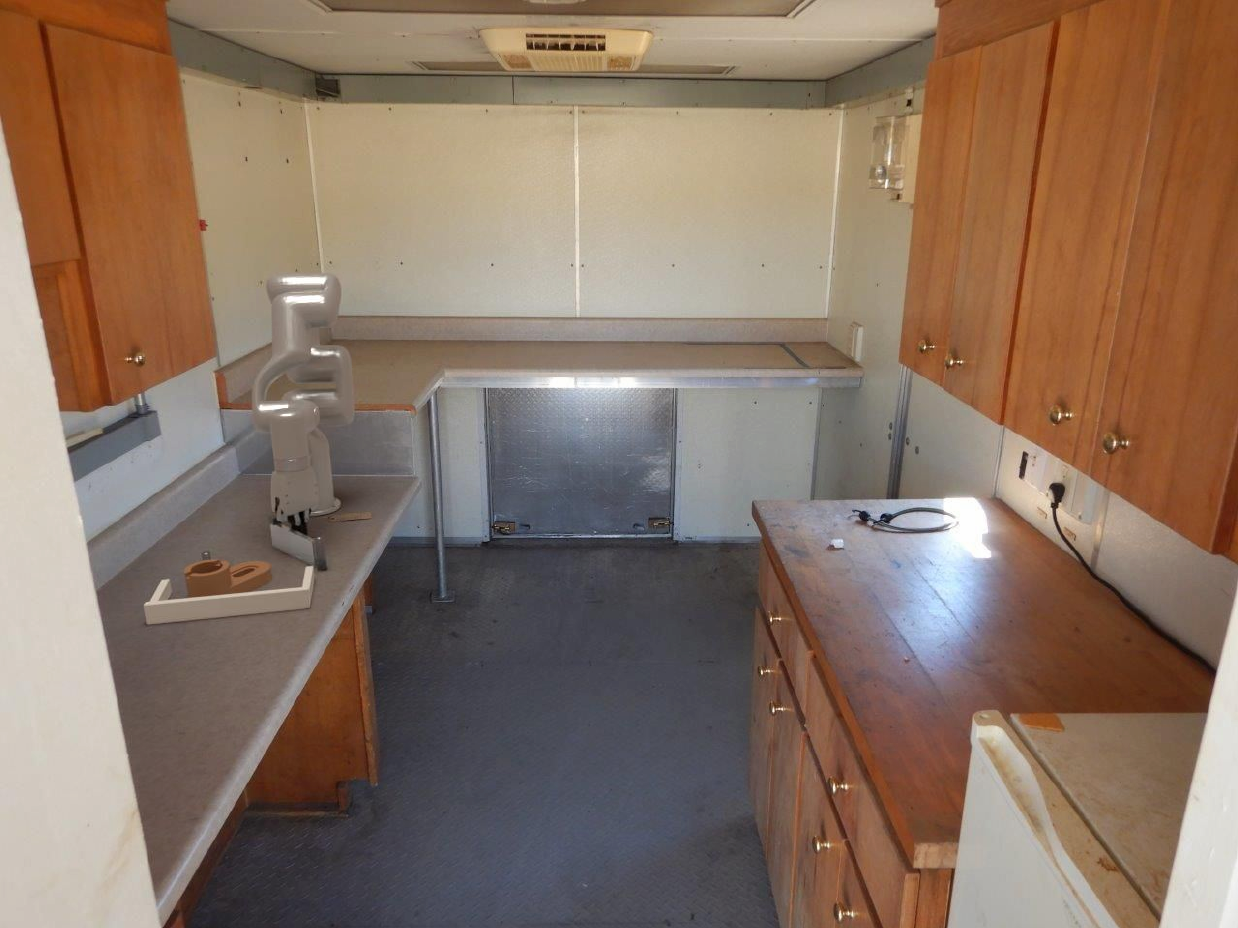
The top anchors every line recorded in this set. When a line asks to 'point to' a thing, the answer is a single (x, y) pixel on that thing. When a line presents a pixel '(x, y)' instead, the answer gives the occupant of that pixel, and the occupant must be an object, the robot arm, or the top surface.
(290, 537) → the gate
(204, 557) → the post
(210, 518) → the top surface
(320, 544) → the hinge post
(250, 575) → the bracket
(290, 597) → the white u-shaped frame
